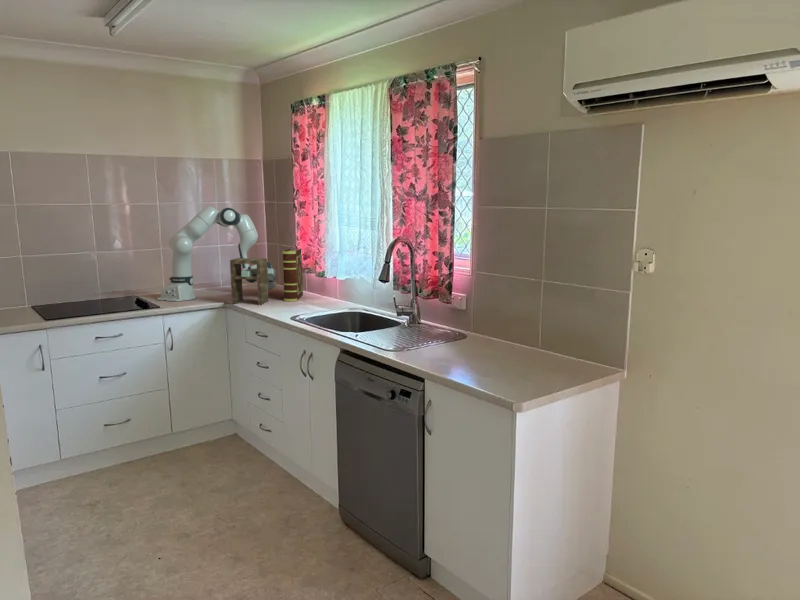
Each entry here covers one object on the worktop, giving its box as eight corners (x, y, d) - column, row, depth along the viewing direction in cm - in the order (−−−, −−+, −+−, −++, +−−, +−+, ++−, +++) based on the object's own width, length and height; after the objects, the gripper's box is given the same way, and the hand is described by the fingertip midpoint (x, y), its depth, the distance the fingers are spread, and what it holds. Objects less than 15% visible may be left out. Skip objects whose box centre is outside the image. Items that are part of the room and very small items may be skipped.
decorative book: (296, 301, 355) (295, 251, 349) (283, 301, 355) (281, 251, 350) (303, 295, 377) (301, 248, 372) (290, 295, 377) (289, 248, 372)
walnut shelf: (232, 304, 345) (229, 259, 341) (239, 301, 356) (237, 258, 352) (261, 305, 343) (259, 260, 338) (268, 301, 354) (266, 258, 349)
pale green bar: (241, 276, 341) (241, 271, 340) (254, 272, 359) (253, 267, 359) (248, 276, 340) (247, 271, 340) (260, 272, 359) (260, 267, 358)
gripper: (247, 271, 371) (239, 262, 358) (279, 272, 368) (271, 263, 355) (246, 280, 368) (237, 272, 356) (277, 281, 366) (270, 272, 353)
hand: (254, 267), depth 355 cm, fingers open, 6 cm apart
